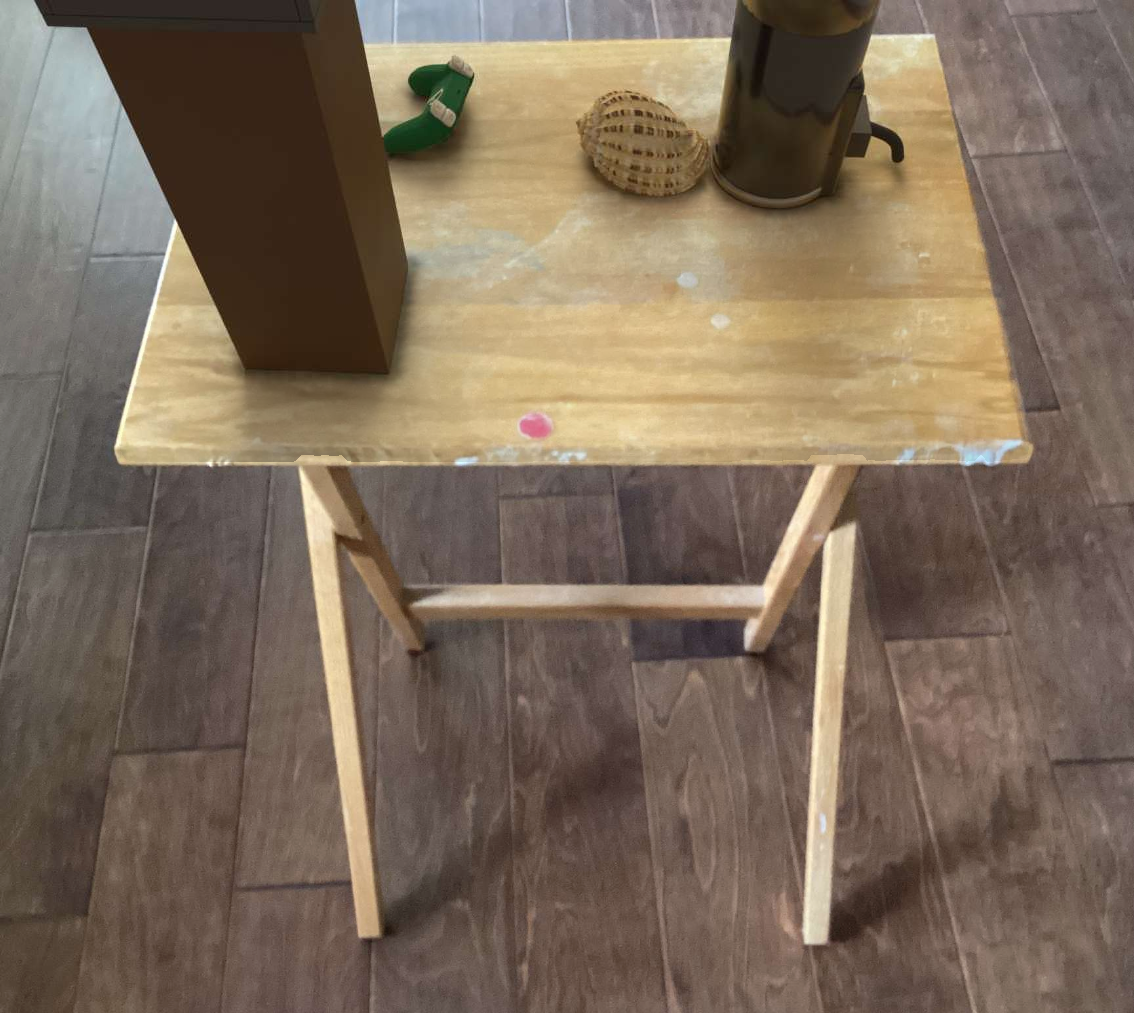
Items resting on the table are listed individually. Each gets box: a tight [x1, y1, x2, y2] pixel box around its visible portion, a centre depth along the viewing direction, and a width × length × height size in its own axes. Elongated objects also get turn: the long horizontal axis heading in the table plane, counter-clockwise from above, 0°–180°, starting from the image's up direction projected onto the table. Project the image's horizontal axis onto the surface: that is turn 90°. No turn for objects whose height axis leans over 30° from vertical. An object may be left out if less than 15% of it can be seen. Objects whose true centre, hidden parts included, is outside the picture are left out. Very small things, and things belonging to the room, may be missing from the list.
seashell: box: [575, 89, 712, 197], centre depth 75 cm, size 8×6×10 cm
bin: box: [33, 0, 409, 374], centre depth 56 cm, size 12×12×32 cm
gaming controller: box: [382, 54, 475, 154], centre depth 78 cm, size 9×4×6 cm
